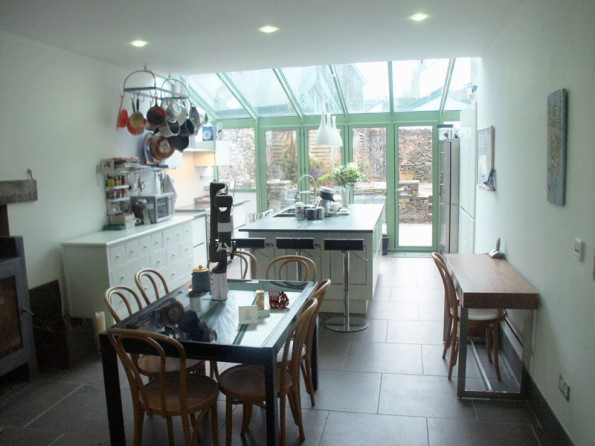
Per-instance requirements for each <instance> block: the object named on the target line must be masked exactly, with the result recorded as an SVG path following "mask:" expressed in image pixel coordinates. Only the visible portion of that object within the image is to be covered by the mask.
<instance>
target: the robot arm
mask: <svg viewBox="0 0 595 446" xmlns="http://www.w3.org/2000/svg"><path fill="white" fill-rule="evenodd" d="M233 204H234V198H233V196H232V195H230V194H229V186H228V184H227V182H224V181H212V182H210V183H209V208H210V211H209V245H208V246H209V247H208V259H209V262H210V263H212V264H214V263H215V264H216V263H217V264H216V265H215V266H214V267H212V270H211V274H212V275H211V276H212V280H211V281H212V283H211V299H213V300H214V301H224V300H227V299H228V293H229V292H228V251H229V259H230V260H233V259H234V258H235V252H237V251H238V249H237V248H238V247H237V241H236V240H234V241H232V224H231V221H232V220H231V212H232V207H233ZM220 208H221V209H222V208H224V209H225V208H226V209H225V210H223V211H222V210H221V209H220ZM227 250H228V251H227Z"/></svg>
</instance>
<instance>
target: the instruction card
mask: <svg viewBox="0 0 595 446" xmlns="http://www.w3.org/2000/svg"><path fill="white" fill-rule="evenodd" d="M237 310H238V313H237V314H238V325H254V324H258V318H257V305H256V304H252V305H251V304H250V305H249V304H248V305H238V309H237Z"/></svg>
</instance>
